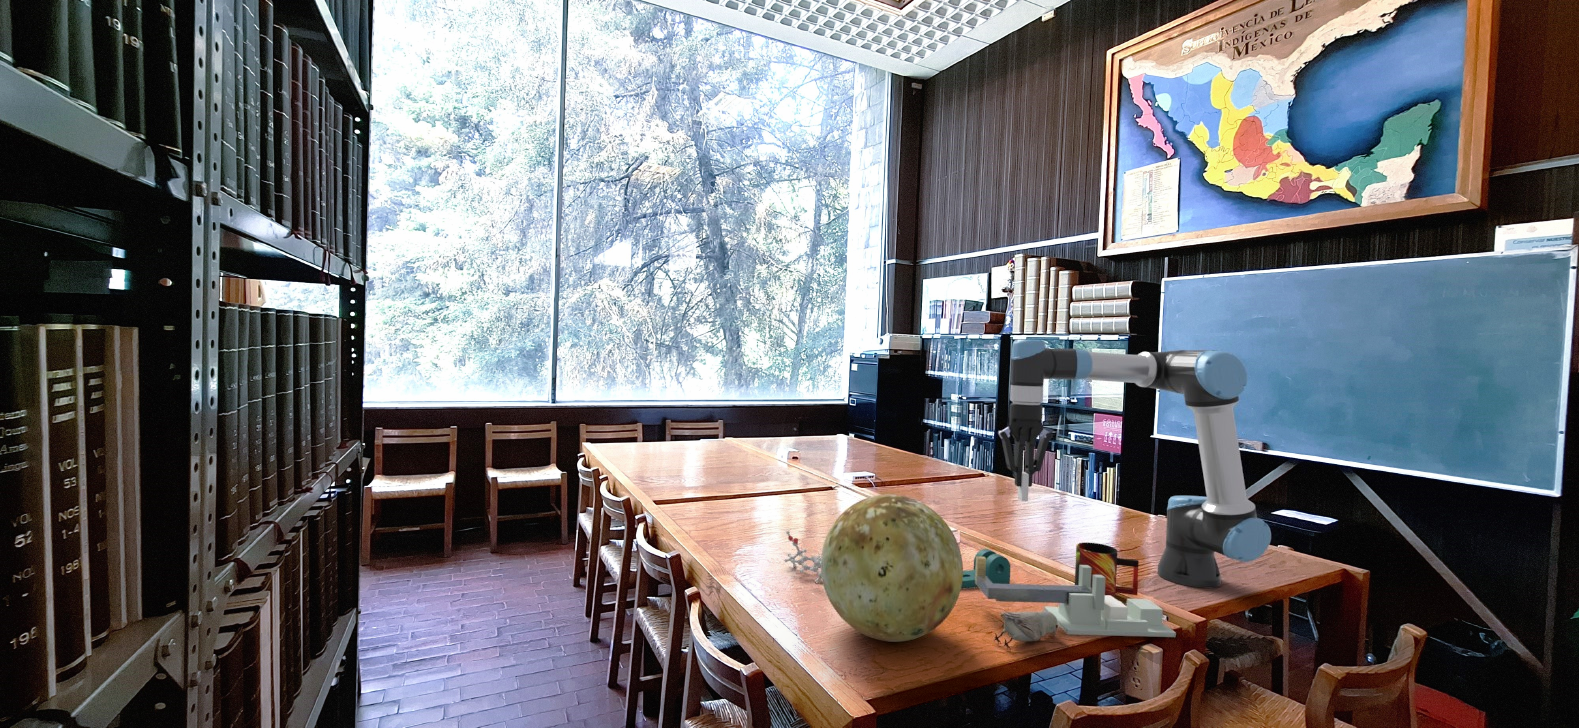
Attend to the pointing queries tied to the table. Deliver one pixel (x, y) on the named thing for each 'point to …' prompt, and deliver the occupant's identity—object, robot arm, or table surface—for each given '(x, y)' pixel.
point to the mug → (1105, 566)
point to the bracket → (989, 569)
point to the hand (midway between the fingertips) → (1022, 499)
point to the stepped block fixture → (1086, 609)
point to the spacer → (1113, 609)
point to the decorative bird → (1028, 625)
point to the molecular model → (804, 558)
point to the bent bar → (1023, 589)
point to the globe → (891, 568)
